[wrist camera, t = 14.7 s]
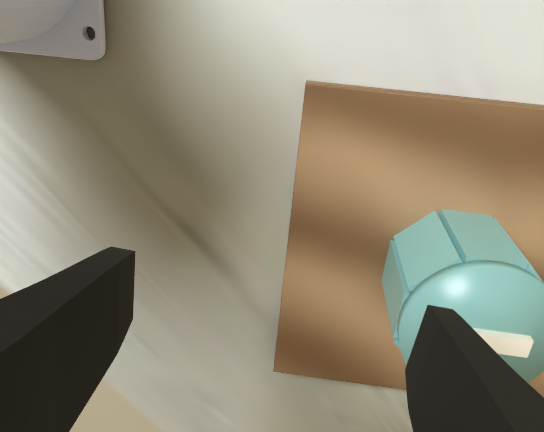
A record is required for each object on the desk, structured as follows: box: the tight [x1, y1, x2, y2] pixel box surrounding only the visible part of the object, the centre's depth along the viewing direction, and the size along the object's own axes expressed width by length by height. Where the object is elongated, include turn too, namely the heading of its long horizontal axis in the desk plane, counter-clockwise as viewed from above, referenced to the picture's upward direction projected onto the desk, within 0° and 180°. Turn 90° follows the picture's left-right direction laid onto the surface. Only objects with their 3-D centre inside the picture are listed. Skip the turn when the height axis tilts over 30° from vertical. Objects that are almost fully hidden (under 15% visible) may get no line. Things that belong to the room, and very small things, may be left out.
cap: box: [381, 209, 544, 383], centre depth 19 cm, size 5×5×5 cm
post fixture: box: [273, 81, 544, 397], centre depth 20 cm, size 14×14×4 cm
